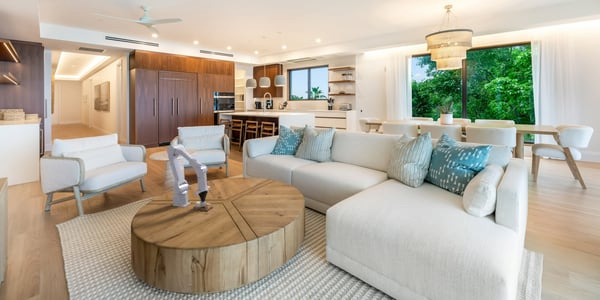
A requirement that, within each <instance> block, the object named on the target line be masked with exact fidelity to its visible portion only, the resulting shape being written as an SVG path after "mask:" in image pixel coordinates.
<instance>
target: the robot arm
mask: <svg viewBox="0 0 600 300" xmlns="http://www.w3.org/2000/svg"><path fill="white" fill-rule="evenodd" d="M166 153H167V157H168V158H167V159H168V161H169V165H170V167H171V171H172V175H173V178H174V182H173V184H172V186H173V195H172V201H173V204H172V206H174V207H178V208H179V207H180V208H184V207H187V206H188V205H191V202H188V201H189V200H188V193H189V192H188V191H189V189H190V185H189V183H188V181H187V180H186V179H184V176H183V174H182V170H181V166H180V164H179V160H178V157H179V155H180V156H181V157H182V158H184V159H185V160H186V161H187V162H188V165H189V166H191V167H192V168H193V169H194V170H195V171H194V172H195V174H196V177H197V190H196V191H194V195H195V196H199V199H200V202H205V201H206V198H207V195H208V192H209V190H210V189H211V187H210V185H207V183H208V182H207V181H208V180H207V173H208V171H209V169H208V166H207V164H202V163H201V162H200V161H199V160H198V159H197V157H192V156H191V154H190V153H189V152H188V151H187V150H186V149H185V146H183V144H181V143H177V144H172V145H168V147H167V148H166Z"/></svg>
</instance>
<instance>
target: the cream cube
mask: <svg viewBox="0 0 600 300" xmlns="http://www.w3.org/2000/svg"><path fill="white" fill-rule="evenodd" d="M200 202H201V201H200V200H199V201H196V202H195V206H196V207H201V206H200Z"/></svg>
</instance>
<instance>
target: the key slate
mask: <svg viewBox="0 0 600 300" xmlns="http://www.w3.org/2000/svg"><path fill="white" fill-rule="evenodd" d="M199 202H200V206H202V207H204V206H205V204H206V203H207V201H206V200H205V202H201V201H199Z"/></svg>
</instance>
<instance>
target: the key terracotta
mask: <svg viewBox="0 0 600 300" xmlns="http://www.w3.org/2000/svg"><path fill="white" fill-rule="evenodd" d="M211 206H212V205H211V202H206V204H205V208H207V209H209V208H210V207H211Z"/></svg>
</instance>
